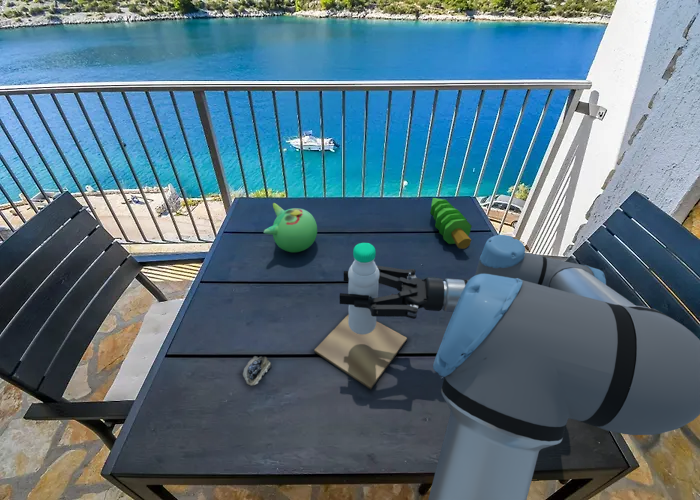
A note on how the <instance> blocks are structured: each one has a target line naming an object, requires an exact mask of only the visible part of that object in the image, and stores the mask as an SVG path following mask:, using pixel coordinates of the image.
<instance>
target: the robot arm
mask: <svg viewBox="0 0 700 500" xmlns="http://www.w3.org/2000/svg"><path fill="white" fill-rule="evenodd" d="M376 266H377V267H378V269H379V273H380V276H379V280H378V282H379V284H381V285H384V286H387V287H390V288H393V289H396V290H397V291H398V293H394V294H389V295H384V296H378V297H377V298H372V297H371V296H370V297H369V295H357V294H348V293H343V292H339V305H348V306H349V305H354V307H359V308H368V309H370V311H371V315H372V316H376V318H377V317H381V318H382V317H384V318H385V317H386V318H387V317H388V318H390V317H393V318H394V317H395V318H396V317H397V318H400V317H402V318H404V317H405V318H408V319H412V320H415V319H417V316H418V310H420V309H424V310H425V311H429V312H440V311H443V312H447V313H452V315H451V317H450V319H449V321H448V324H447V326H446V329H445V330H444V334H443V336H442V340H441V343H440V345H439V348H438V349H437V353H436V355H435V357H434V360H433V361H434V362H433V365H432V368H433V370H434V371H435V372H436V373H437V374H438V376H440V377H443V381H442V384H441V389H440V392H441V396H442V398H443V399H444V401H445V403H446V404H447V406H448V408H449V410H450V414H449V418H448V421H447V425H446V429H445V432H444V437H443V440H442V445H441V449H440V451H439V456H438V460H437V463H436V464H437V465H436V468H435V472H434V476H433V480H432V484H431V488H430V492H429V495H428V498H427V500H528V496H529V492H530V488H531V484H532V480H533V476H534V473H535V469H536V464H537V461H538V457H539V452H540V451H541V450H543V449H545V448H549V447H553V446H555V445H559V444H561V443H562V441H563V438H564V435H565V431H566V427H567V423H568V420H569V419H571V420H574V421H577V422H579V423H584V424H586V425H589V426H592V427H596V428H599V429H602V430H605V431H607V432H612V433H617V434H622V435H628V436H629V435H630V436H653V435H661V434H664V433H668V432H671V431H675V430H678V429H680V428H683V427H684V426H686V425H688V424H690V423H691V422H693V421H694V420H696V419H697V418H699V416H700V338H698V336H696V334H695V333H694V332H692V331H691V330H690V329H688V327H686V326H685V325H683V324H682V323H680V322H678V321H676V320H675V319H674V318H672V317H670V316H669V315H667V314H665V313H664V312H662V311H659V310H657V309H655V308H651V307H647V306H642V305H635V304H634V303H633V302H632V301H630V300H629V299H627V298H626V297H625V296H623V295H622V294H620V293H618V292H617V291H616V290H614V289H613V288H611V287H610V286H608V285H607V279H606V275H605V273H604V271H603V270H601V269H599V268H595V267H592V266H589V265H587V264H578V263H574V262H570V261H566V260H561V259H557V258H552V257H548V256H547V257H546V256H543V255H540V254H536V253H531V252H526V247H525V245H524V243H523V242H522V241H521V240H519V239H518V238H514V237H513V236H511V235H507V234H498V235H496V234H495V235H493V236H490V238H488V239H487V240H486V241H485V244H484V246H483V249H482V252H481V253H480V256H479V260H478V263H477V267H476V271H475V273H474V276H472V277H470V278H469V279H458V278H448V277H447V278H444V279H442V278H441V277H432V276H431V277H430V276H428V277H425V279H421V278H419V277H417V276H416V269H414V268H409V269H406V268H405V269H404V268H399V267H398V268H396V267H390V266H382V265H376ZM348 271H349V270H344V271H343V282H348V283H349V278H348ZM367 276H368V275H367ZM375 303H376V304H375Z"/></svg>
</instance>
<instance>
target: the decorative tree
mask: <svg viewBox="0 0 700 500" xmlns="http://www.w3.org/2000/svg"><path fill="white" fill-rule="evenodd" d="M430 205H431V206H430V212H429V214H430V215H431V216H432V217H433V220H434V221H435V224H434V228H436V230H438V233H439V235H441V236H442V239H443V240H444V242H446V243H447V244H448V245H454V244H455V245H456V247H457V248H458V249H461V250H462V249H463V250H464V249H467V248H468V247H469V246H470V245H471V243H472V239H471V238H470V237H469V236H470V234H471V230H472V224H471V223H470V222H469V221H468V219H467V217H465V216H464V214H462V213H461V211H460V210H459V209H458V208H455V207H454V205H452V203H450V202H449V201H448V200H447V199H444V198H443V199H442V198H438V197H437V198H436V197H432V201H431V204H430Z"/></svg>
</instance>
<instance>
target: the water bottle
mask: <svg viewBox="0 0 700 500" xmlns="http://www.w3.org/2000/svg"><path fill="white" fill-rule="evenodd" d="M376 253H377V252H376V248H375V246H374V245H373V244H372V243H369V242H360V243H357V244H356V245H355V246H354V247H353V250H352V255H353V259H354V260H353V262H352V263H351V265H350V266H349V268H348V270H347V271H348V278H349V282H348V284H347V286H348V287H347V290H348V291H347V294H357V295H369V297H370V296H371V297H372V298H377V297H379V287H380V286H379V284H380V283H379V282H378V280H379V276H380V273H379V272H380V271H379V269H378V267H377V266H378V265H377V264H376V261H375V259H376V255H377V254H376ZM367 275H368V276H367ZM375 304H376V303H375ZM347 312H348V314H349V318H348V324H349V327H350V329H351V330H352V331H353V332H355V333H357V334H368V333H370V332H372V331H373V330H374V329H375V327H376V321H377V317H376V316H372V315H371V311H370V309H368V308H359V307H354V305H348V311H347Z"/></svg>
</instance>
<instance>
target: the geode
mask: <svg viewBox="0 0 700 500" xmlns="http://www.w3.org/2000/svg"><path fill="white" fill-rule="evenodd" d="M271 367H272V363H271V362H270V360H269V359H268V357H267V356H259V357H258V356H256V355H254V356H253V357H252V358H251V359H250V360H249V361H248V362H247V364H246V365H245V367H244V368H243V372H242V376H243V377H242V378H244V380H245V382H246V384H247V385H248V386H251V387H252V386H256V385H258V384H259V382H260V381H261V380H262V376H264V375H265V373H267V372H268V370H269V369H271Z"/></svg>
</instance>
